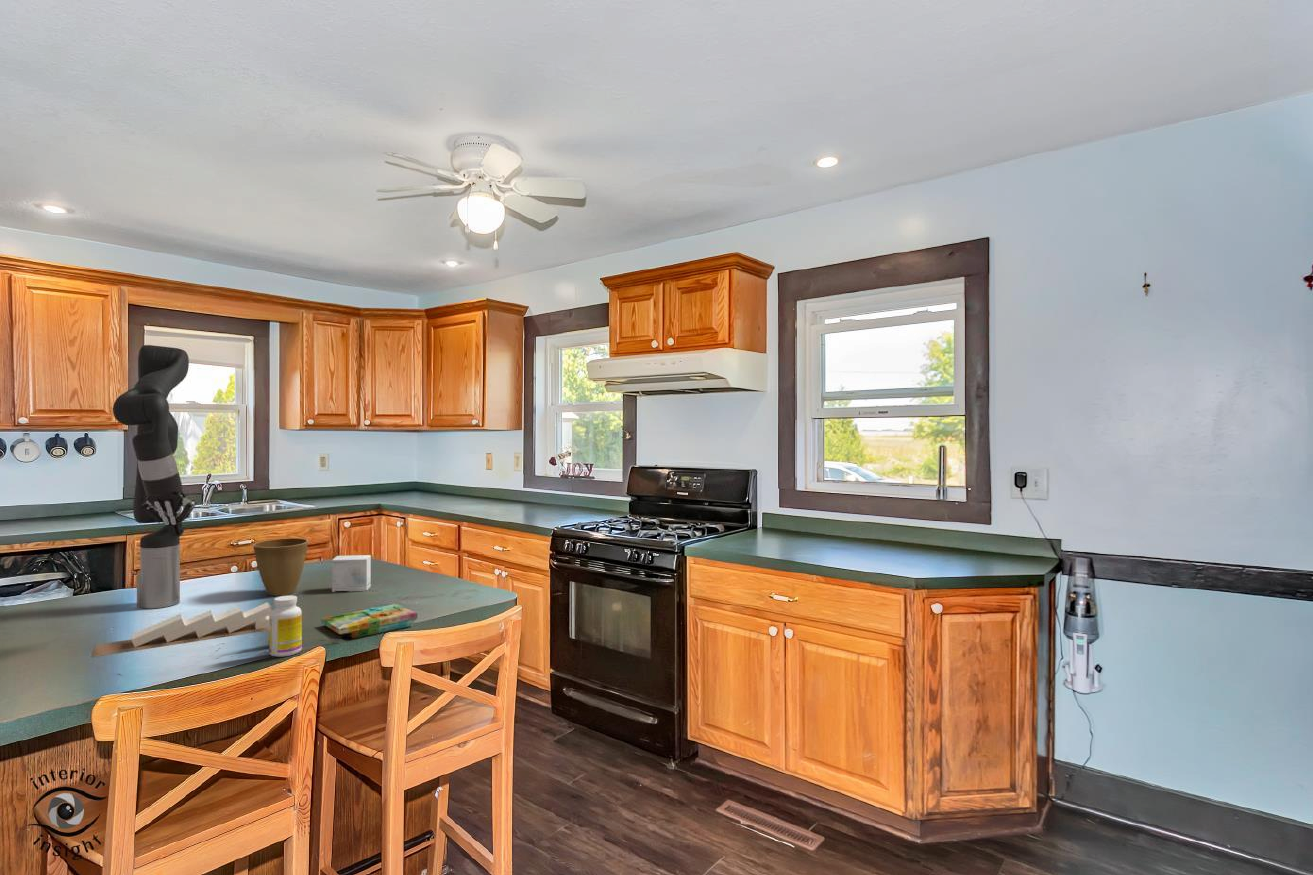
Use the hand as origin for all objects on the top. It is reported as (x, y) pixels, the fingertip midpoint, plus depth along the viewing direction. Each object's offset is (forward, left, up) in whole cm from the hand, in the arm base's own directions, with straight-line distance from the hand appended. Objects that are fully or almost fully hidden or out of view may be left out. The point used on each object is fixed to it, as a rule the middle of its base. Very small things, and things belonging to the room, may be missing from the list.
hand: (177, 536), depth 170 cm
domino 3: (+11, -8, -22) cm, 26 cm away
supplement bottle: (+37, -13, -24) cm, 46 cm away
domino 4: (+16, -4, -22) cm, 27 cm away
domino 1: (+2, -16, -22) cm, 27 cm away
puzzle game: (+48, +6, -25) cm, 54 cm away
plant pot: (+3, +38, -24) cm, 45 cm away
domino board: (+10, -9, -24) cm, 28 cm away
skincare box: (+22, +45, -24) cm, 56 cm away
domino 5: (+20, 0, -22) cm, 30 cm away
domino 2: (+7, -12, -22) cm, 26 cm away
